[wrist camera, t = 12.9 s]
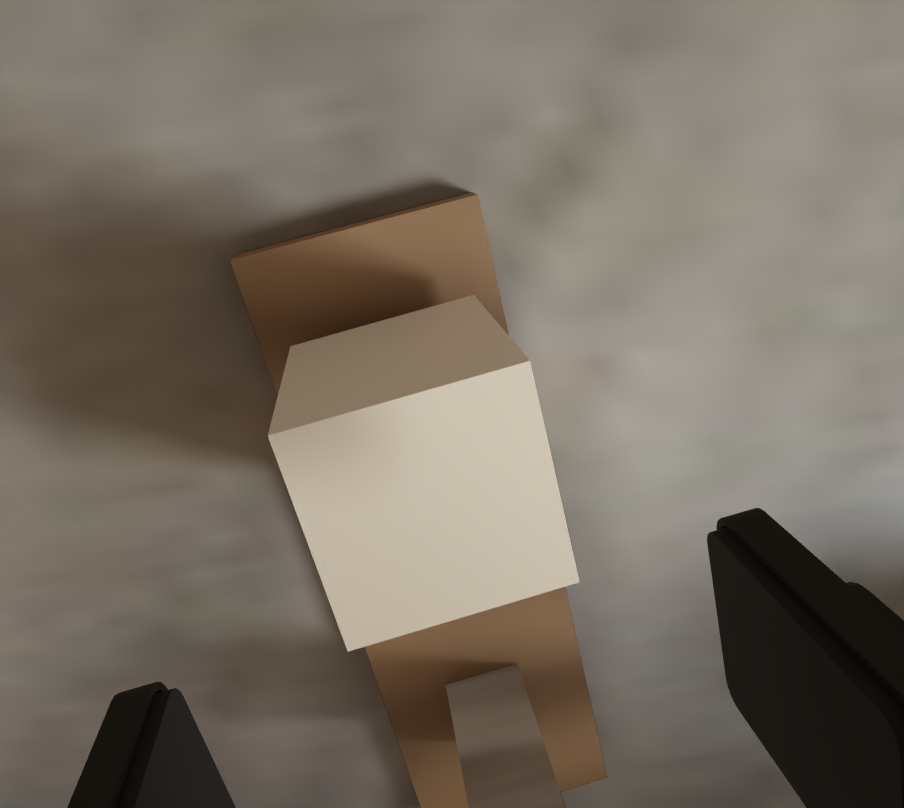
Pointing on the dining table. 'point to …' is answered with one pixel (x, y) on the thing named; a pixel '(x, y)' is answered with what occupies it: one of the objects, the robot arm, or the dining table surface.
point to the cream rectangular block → (420, 471)
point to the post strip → (468, 638)
